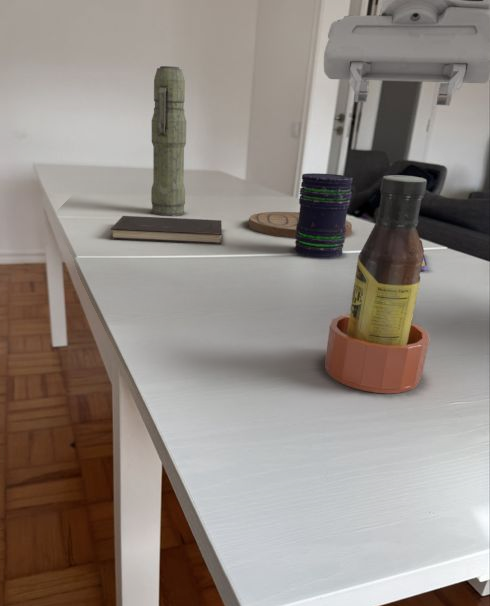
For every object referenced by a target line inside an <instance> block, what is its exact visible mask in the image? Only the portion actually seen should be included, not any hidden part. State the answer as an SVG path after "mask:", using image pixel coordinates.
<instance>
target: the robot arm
mask: <svg viewBox="0 0 490 606" xmlns="http://www.w3.org/2000/svg"><path fill="white" fill-rule="evenodd" d="M327 38H328V39H327V43H326V45H325V49H324V52H323V72H324V74H325V76H326V77H328V79H330V80H346V81H347V80H349V81H348V83H349V84H348V85H350V87H351V88H352V90H353V92H354V95H353V102H354V103H367V102H368V96H369V87H370V81H383V82H384V81H385V82H421V83H423V82H425V83H429V82H430V83H439V88H438V91H437V95H436V96H437V97H436V106H448V107H449V106H450V105H451V101H452V96H453V95H454V94H456V93H457V91H459V90H460V89H461V88H462V87H463V84H486V83H488V82H490V0H382V2H381V8H380V12H379V15H377V14H376V15H375V14H374V15H345V16H343V18H340V19H338V20H334V21H333V22H332V23H331V24H330V26H329V30H328V33H327Z"/></svg>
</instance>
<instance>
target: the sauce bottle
mask: <svg viewBox="0 0 490 606" xmlns="http://www.w3.org/2000/svg"><path fill="white" fill-rule="evenodd" d="M427 185H428V181H427V179H426V178H424V177H419V176H413V175H400V174H394V175H393V174H392V175H391V174H390V175H384V176H382V178H381V184H380V188H379V191H380V201H379V208H378V211H377V212H378V213H377V216H376V218H375V220H376V221H375V224H374V225H373V228H372V229H371V232H370V233H369V235H368V237H367V239H366V241H365V243H364V245H363V246H362V249H361V250H360V252H359V254H358V256H357V262H356V269H355V277H354V284H353V289H352V296H351V303H350V309H349V314H350V316H349V323H348V330H347V335H348V336H350V337H352V338H354V339H358V340H361V341H364V342H368V343H374V344H381V345H407V342H408V337H409V332H410V327H411V323H413V322H412V321H413V316H414V311H415V307H416V302H417V296H418V293H419V292H418V291H419V286H420V282H421V276H420V275H421V271H422V270H421V266H422V262H423V254H424V255H425V250H424V246H423V241H422V240H421V238H420V236H419V232H418V230H417V227H418V224H419V221H420V220H419V215H420V210H421V204H422V200H423V199H424V197H425V194H426V190H427Z"/></svg>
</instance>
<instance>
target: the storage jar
mask: <svg viewBox="0 0 490 606" xmlns="http://www.w3.org/2000/svg"><path fill="white" fill-rule="evenodd" d="M353 179H354V177H352V176H350V175H349V176H348V175H345V174H343V175H342V174H333V173H319V172H318V173H314V172H313V173H302V175H301V180H302V181H301V183H300V189H299V199H298V204H299V222H298V224H297V227H296V231H297V232H296V235H295V238H294V239H295V241H294V244H295V247H294V253H295V254H297V255H299V256H302V257H306V258H313V259H323V260H324V259H325V260H326V259H327V260H328V259H330V260H331V259H338V258H341V257H342V256H343V249H344V244H345V241H346V236H344V235H345V233H346V227H345V222H346V220H347V214H348V209H349V207H350V204H351V203H350V202H351V198H352V191H351V190H352V188H353V186H352V183H353V181H354V180H353Z"/></svg>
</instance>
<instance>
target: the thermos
mask: <svg viewBox="0 0 490 606" xmlns="http://www.w3.org/2000/svg"><path fill="white" fill-rule="evenodd" d="M185 93H186V80H185V77H184V73H183V69H181V68H180V67H178V66H168V65H164V66H163V65H161V66H159V67H157V68H156V71H155V74H154V79H153V102H154V107H153V114H152V117H151V144H152V146H153V148H152V149H153V150H152V151H153V153H152V154H153V158H152V159H153V160H152V161H153V165H152V167H153V169H152V170H153V175H152V177H153V181H152V185H151V191H150V192H151V194H150V195H151V198H150V199H151V213H152V214H154V215H157V216H167V217H168V216H169V217H170V216H172V217H175V216H182V215H184V214H185V204H186V187H185V183H184V175H185V173H184V171H185V167H184V166H185V165H184V164H185V147H186V144H187V119H186V115H185V109H184V105H185V104H184V103H185V95H186V94H185Z"/></svg>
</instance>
